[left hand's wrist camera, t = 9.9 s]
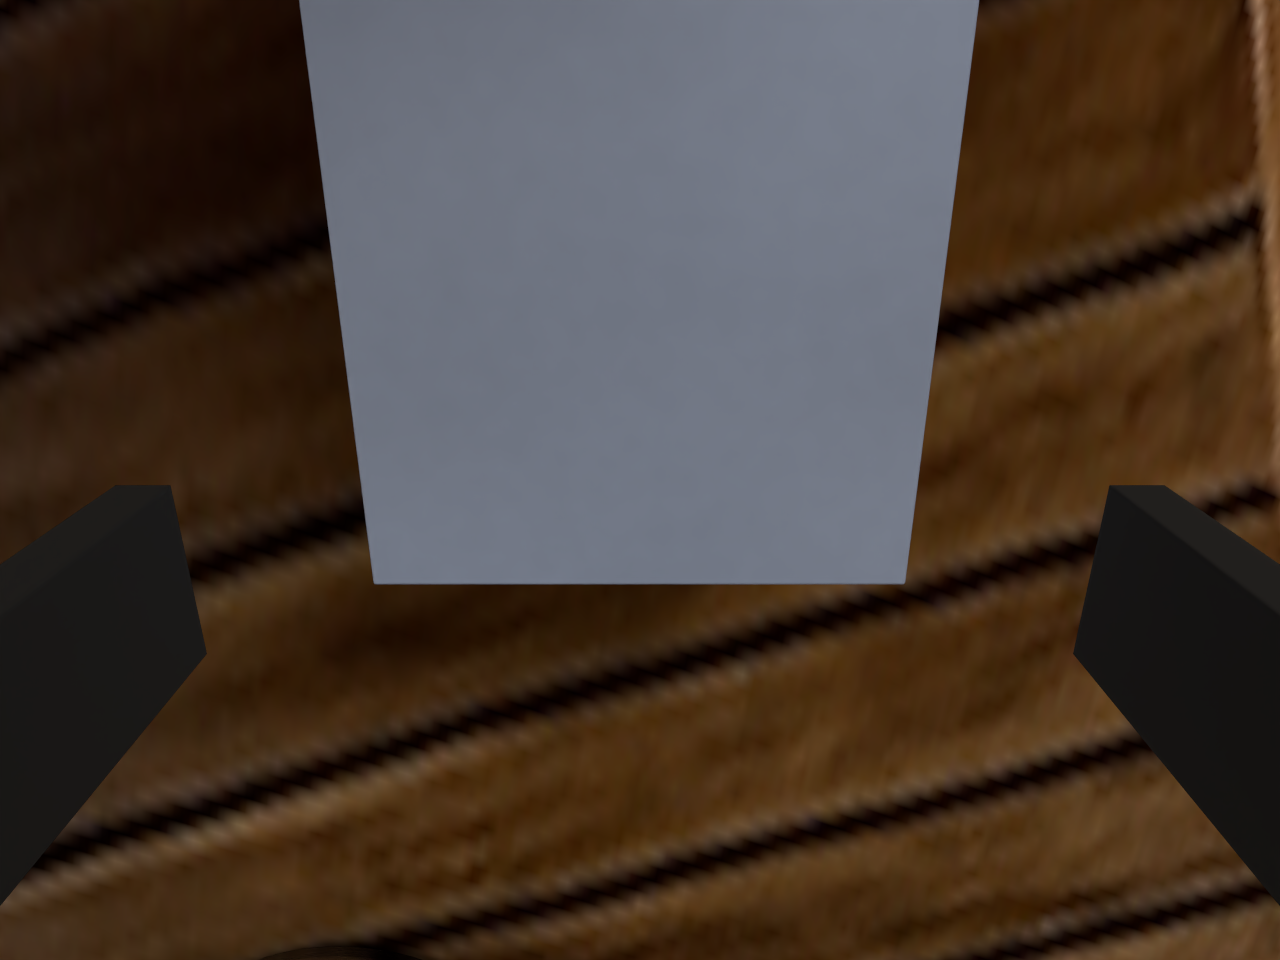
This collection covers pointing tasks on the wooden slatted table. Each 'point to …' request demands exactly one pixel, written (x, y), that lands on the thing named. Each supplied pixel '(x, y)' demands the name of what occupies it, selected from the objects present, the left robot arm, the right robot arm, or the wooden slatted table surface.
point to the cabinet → (639, 280)
